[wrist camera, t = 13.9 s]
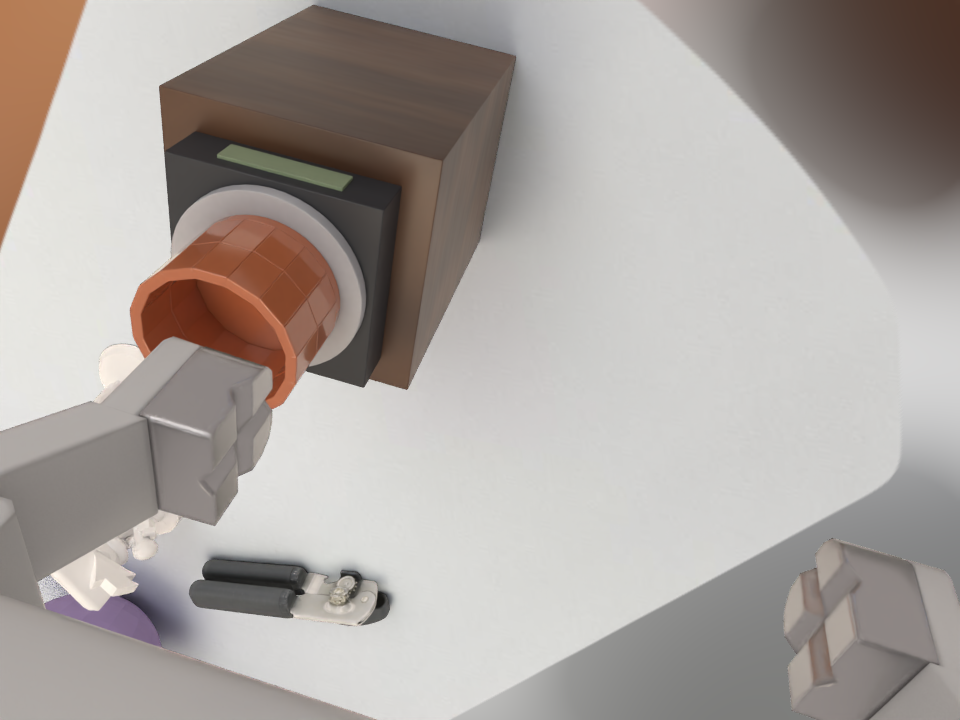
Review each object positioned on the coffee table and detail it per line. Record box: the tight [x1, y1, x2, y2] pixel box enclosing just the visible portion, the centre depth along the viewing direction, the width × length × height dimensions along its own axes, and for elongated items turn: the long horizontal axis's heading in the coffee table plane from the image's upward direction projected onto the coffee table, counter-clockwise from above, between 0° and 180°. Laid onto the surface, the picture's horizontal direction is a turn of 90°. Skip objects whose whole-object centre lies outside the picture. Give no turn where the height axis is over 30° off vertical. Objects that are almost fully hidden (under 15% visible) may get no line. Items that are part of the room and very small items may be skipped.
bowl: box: [130, 215, 340, 409], centre depth 30 cm, size 6×6×4 cm
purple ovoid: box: [44, 595, 162, 648], centre depth 78 cm, size 17×17×20 cm
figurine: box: [93, 344, 144, 404], centre depth 60 cm, size 7×7×12 cm
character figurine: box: [50, 510, 182, 611], centre depth 68 cm, size 9×10×12 cm
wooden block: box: [159, 5, 516, 390], centre depth 41 cm, size 12×12×16 cm
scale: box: [164, 131, 402, 388], centre depth 33 cm, size 9×9×3 cm
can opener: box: [189, 559, 390, 626], centre depth 74 cm, size 19×6×5 cm, turn 94°
